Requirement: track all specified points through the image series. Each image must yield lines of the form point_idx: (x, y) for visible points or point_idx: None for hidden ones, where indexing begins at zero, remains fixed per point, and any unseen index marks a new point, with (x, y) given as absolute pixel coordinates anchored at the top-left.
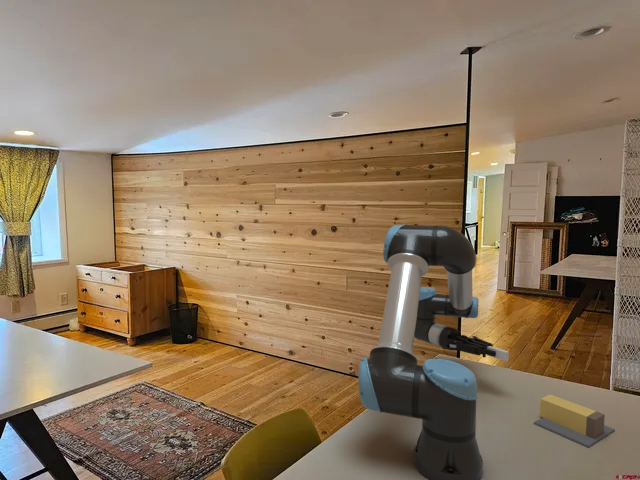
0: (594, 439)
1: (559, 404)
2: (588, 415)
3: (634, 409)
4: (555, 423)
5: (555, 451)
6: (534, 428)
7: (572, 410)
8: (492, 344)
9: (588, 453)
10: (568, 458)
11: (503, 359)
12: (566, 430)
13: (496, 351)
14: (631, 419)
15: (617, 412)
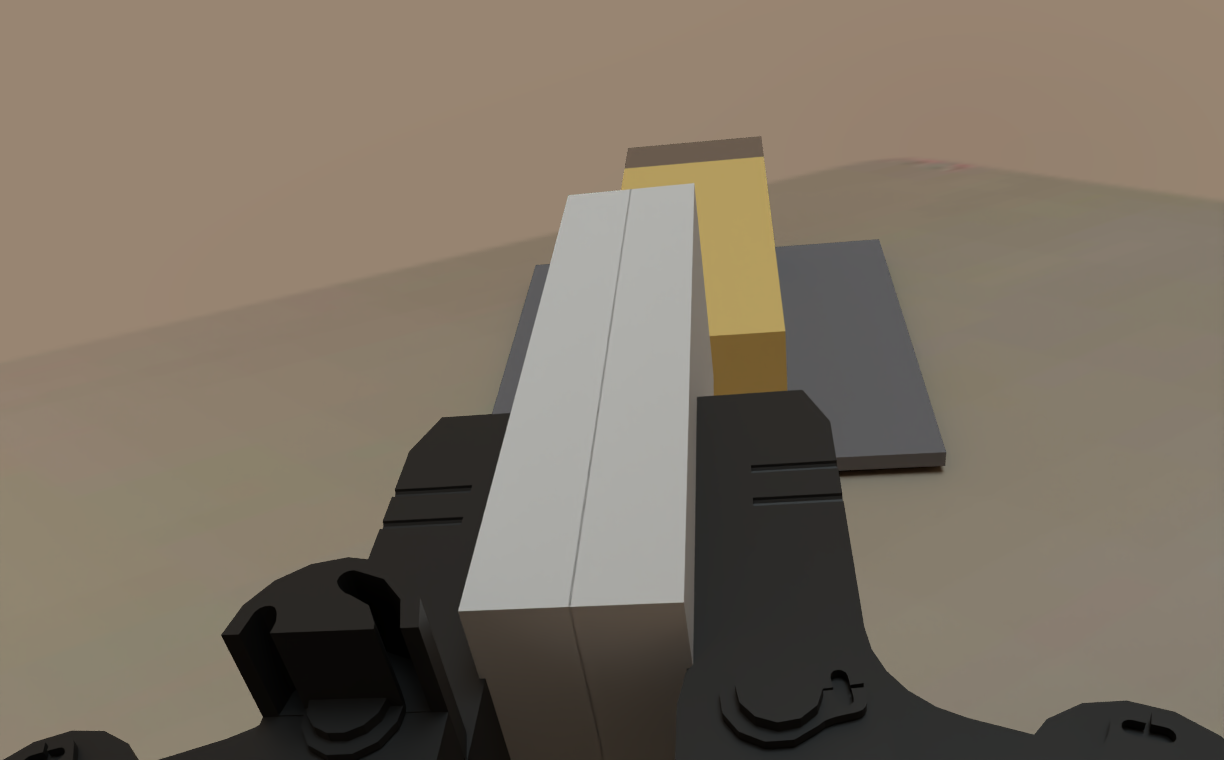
0: None
1: (745, 251)
2: (736, 158)
3: (101, 339)
4: (794, 388)
5: (1114, 288)
6: (997, 444)
7: (757, 200)
8: (61, 742)
9: (927, 241)
10: (1096, 248)
11: (712, 386)
12: (820, 331)
13: (698, 379)
14: (282, 303)
15: (218, 354)
